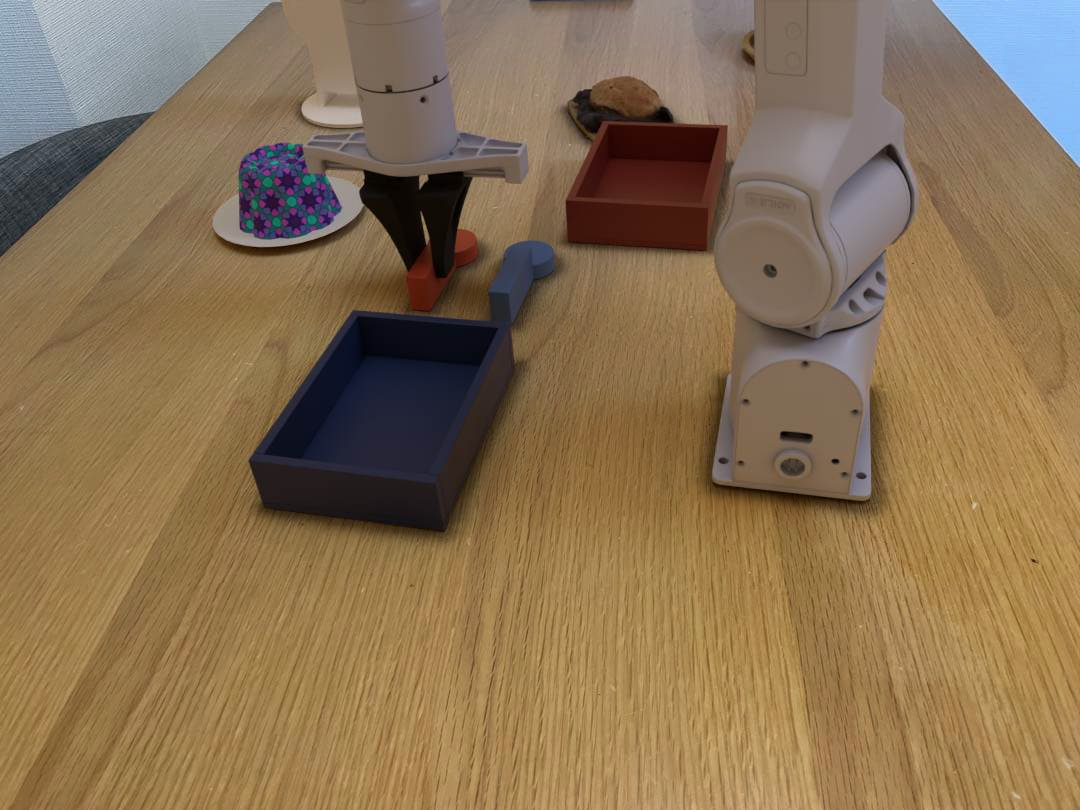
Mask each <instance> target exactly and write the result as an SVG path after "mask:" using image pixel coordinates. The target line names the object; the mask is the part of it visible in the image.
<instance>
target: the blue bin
mask: <svg viewBox="0 0 1080 810" xmlns="http://www.w3.org/2000/svg"><path fill="white" fill-rule="evenodd" d="M512 335H513V333H512V326H511V324H510V323H505V322H493V321H492V320H491V321H490V320H481V319H467V318H457V317H456V318H455V317H444V316H429V315H418V314H408V313H407V314H406V313H397V312H396V313H395V312H393V313H392V312H384V311H383V312H382V311H370V310H357V309H353V310H352V311H351V312H350V313H349V315H348V316H347V317H346V319H345V321H344V322H343V323H342V325H341V326H340V328H338V330H337V332H336V333H335V335H334V336H333V337H332V339H331V341H330V342H329V344H328V345H327V346H326V347H325V348H324V350H323V352H322V354H321V355H320V356H319V358H318V359H317V361H316V362H315V364H314V365H313V367H312V368H311V369H310V371H309V372H308V374H307V375H306V377H304V379H303V381H302V382H301V384H300V385H299V386H298V388H297V389H296V391H295V393H293V395H292V397H291V398H290V400H289V401H288V403H287V404H286V405H285V407H284V408H283V410H282V411H281V412H280V414H279V415H278V417H277V418H276V420H275V421H274V423H273V424H272V425H271V427H270V428H269V430H268V431H267V432H266V434H265V435H264V437H263V438H262V439H261V441H260V443H258V445H257V447H256V448H255V450H254V452H253V453H252V454H251V456H250V457H249V458H248V461H247V462H248V464H249V467H250V470H251V473H252V476H253V479H254V482H255V485H256V488H257V492H258V494H259V497H260V500H261V504H262V506H263V508H265V509H266V508H267V509H274V510H281V511H288V512H294V513H295V512H297V513H301V514H303V513H304V514H311V515H318V516H324V517H333V518H341V519H347V520H355V521H361V522H362V521H363V522H371V523H377V524H385V525H392V526H399V527H408V528H415V529H422V530H430V531H437V532H445V530H446V528H447V526H448V523H449V521H450V519H451V516H452V514H453V512H454V509H455V507H456V505H457V503H458V500H459V499H460V496H461V493H462V491H463V490H464V487H465V484H466V482H467V479H468V477H469V475H470V473H471V470H472V468H473V465H474V463H475V461H476V459H477V456H478V454H479V452H480V450H481V448H482V445H483V443H484V441H485V438H486V437H487V434H488V431H489V429H490V427H491V425H492V422H493V420H494V417H495V416H496V413H497V411H498V409H499V406H500V404H501V402H502V399H503V397H504V395H505V392H506V390H507V388H508V386H509V383H510V381H511V379H512V376H513V374H514V372H515V370H516V364H515V363H516V362H515V355H514V346H513V336H512Z"/></svg>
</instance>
